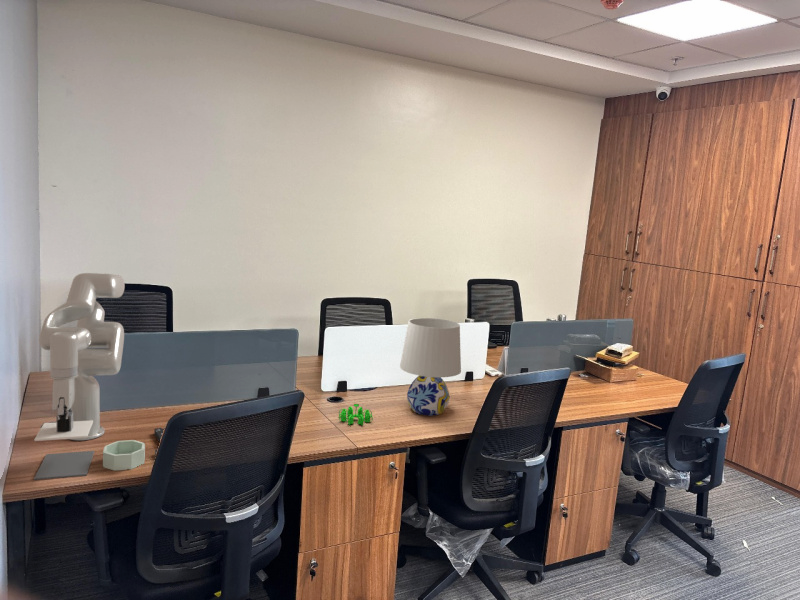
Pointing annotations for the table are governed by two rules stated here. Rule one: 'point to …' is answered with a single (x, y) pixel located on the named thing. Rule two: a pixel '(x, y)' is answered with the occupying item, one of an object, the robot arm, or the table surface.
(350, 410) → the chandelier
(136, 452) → the bowl
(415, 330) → the table lamp
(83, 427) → the lid
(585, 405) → the table surface
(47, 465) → the mat
